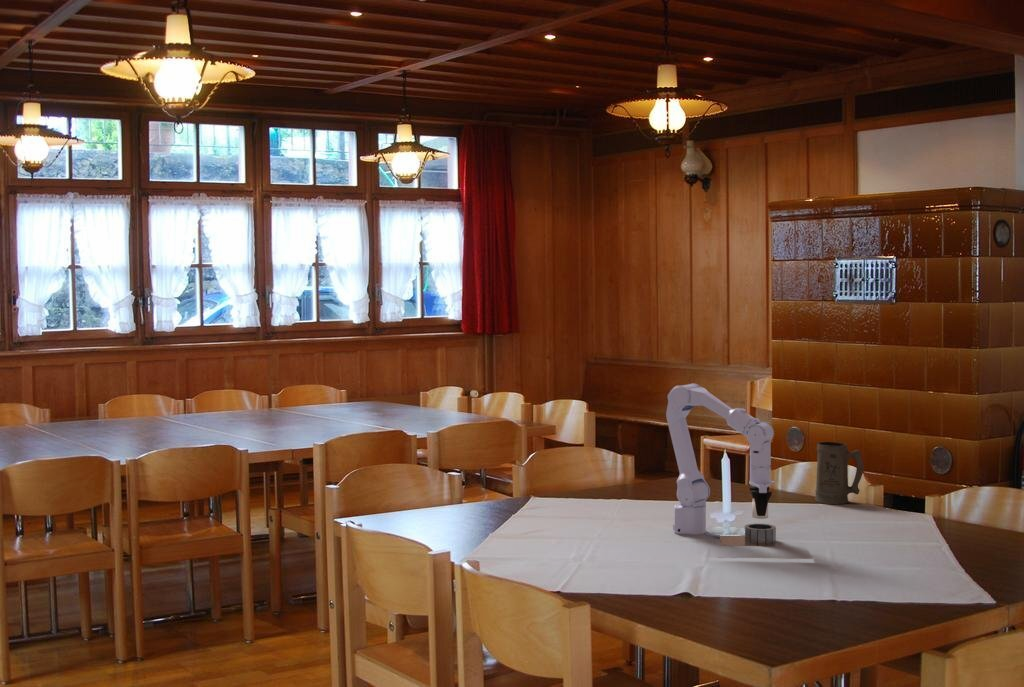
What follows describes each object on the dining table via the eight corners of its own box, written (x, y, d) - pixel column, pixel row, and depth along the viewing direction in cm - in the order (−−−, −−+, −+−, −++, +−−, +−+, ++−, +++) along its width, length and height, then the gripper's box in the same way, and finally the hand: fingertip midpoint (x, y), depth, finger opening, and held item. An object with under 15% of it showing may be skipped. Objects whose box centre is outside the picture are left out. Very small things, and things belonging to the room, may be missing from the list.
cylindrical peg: (753, 518, 325) (753, 500, 324) (751, 515, 329) (751, 497, 329) (769, 518, 324) (769, 501, 324) (767, 515, 329) (767, 498, 328)
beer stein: (811, 503, 386) (816, 443, 384) (813, 497, 396) (817, 439, 394) (860, 508, 381) (864, 448, 380) (860, 502, 391) (864, 444, 390)
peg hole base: (722, 549, 322) (722, 531, 321) (718, 538, 335) (718, 521, 334) (778, 549, 320) (778, 531, 320) (772, 539, 333) (772, 522, 333)
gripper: (778, 470, 318) (777, 519, 319) (771, 462, 333) (771, 509, 333) (751, 470, 319) (751, 519, 320) (746, 461, 333) (746, 508, 334)
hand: (760, 514), depth 327 cm, fingers closed on cylindrical peg, 4 cm apart
